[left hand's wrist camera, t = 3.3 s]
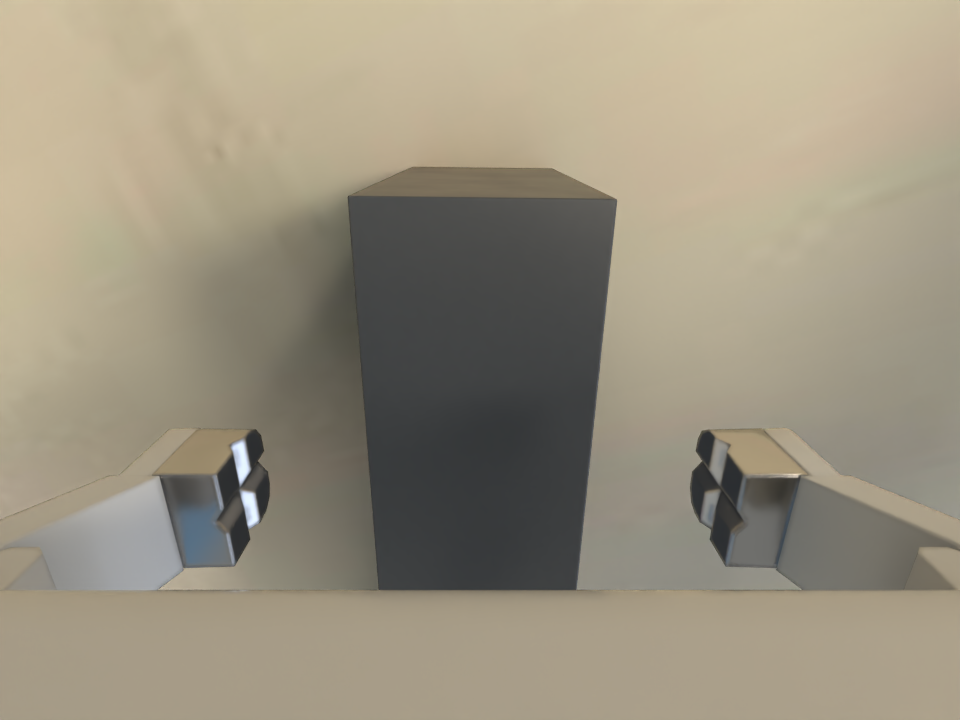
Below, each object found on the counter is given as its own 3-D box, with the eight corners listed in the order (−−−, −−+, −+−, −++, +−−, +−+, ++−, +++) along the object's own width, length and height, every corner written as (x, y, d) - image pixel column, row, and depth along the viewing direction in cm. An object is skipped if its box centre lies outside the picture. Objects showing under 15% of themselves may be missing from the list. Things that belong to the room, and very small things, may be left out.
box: (411, 166, 24) (347, 195, 12) (553, 168, 24) (617, 198, 12) (427, 621, 34) (400, 863, 23) (526, 622, 34) (548, 865, 23)
